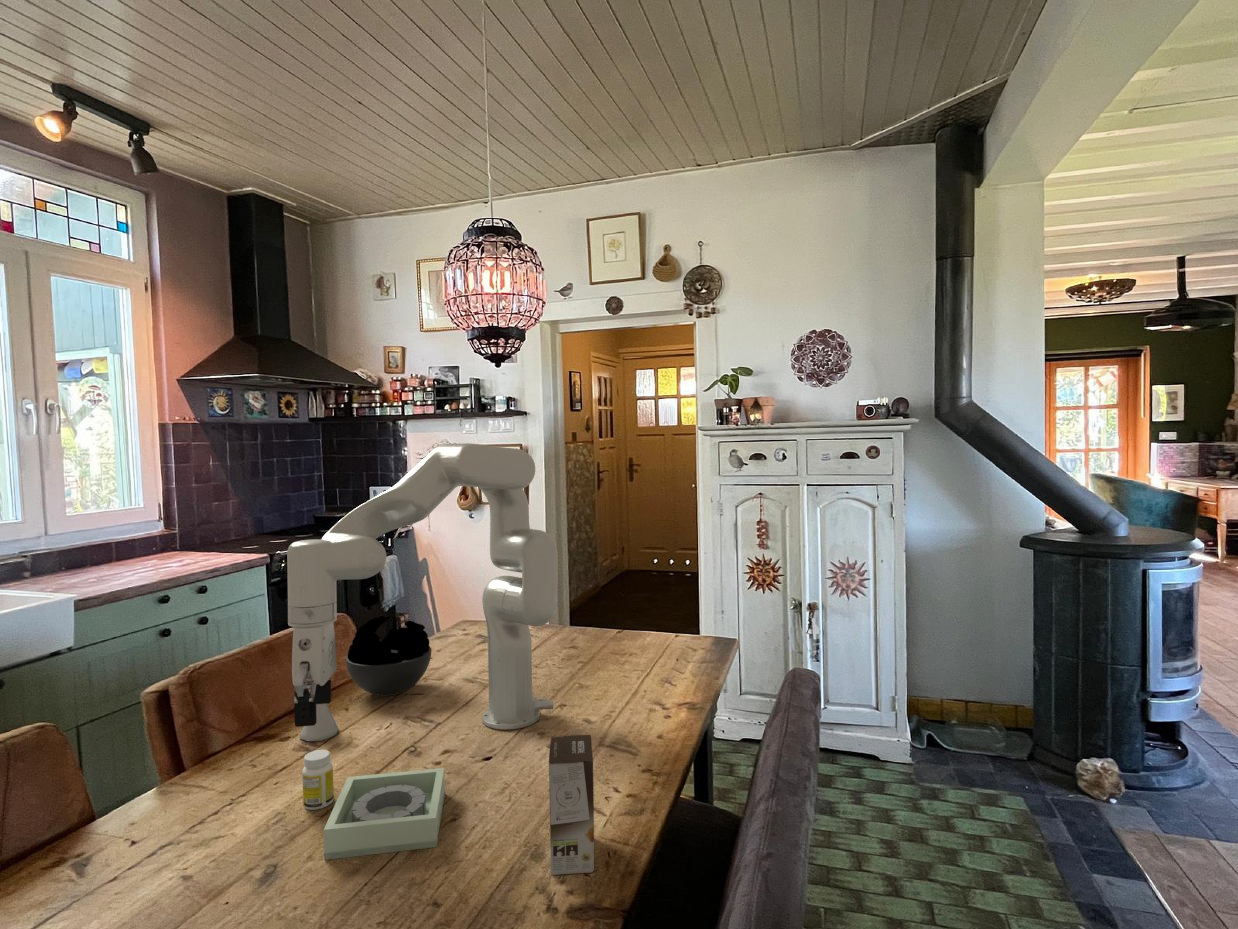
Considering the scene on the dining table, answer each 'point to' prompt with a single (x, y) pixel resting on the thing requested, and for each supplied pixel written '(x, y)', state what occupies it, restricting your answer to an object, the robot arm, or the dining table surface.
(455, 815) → the dining table surface
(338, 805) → the socket box
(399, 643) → the bowl of black rocks
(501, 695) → the robot arm
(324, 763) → the supplement bottle
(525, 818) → the dining table surface
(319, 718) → the flask
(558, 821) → the coffee box
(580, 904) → the dining table surface
